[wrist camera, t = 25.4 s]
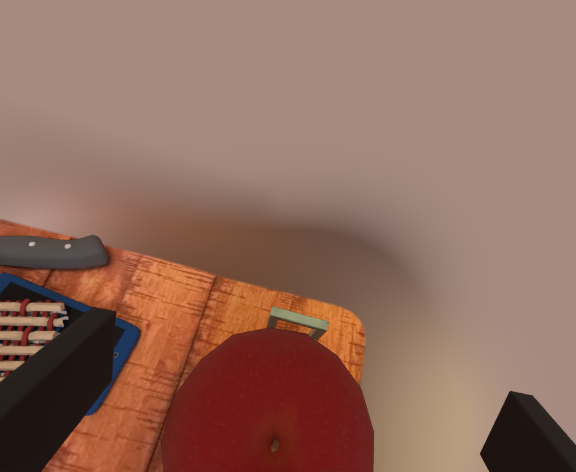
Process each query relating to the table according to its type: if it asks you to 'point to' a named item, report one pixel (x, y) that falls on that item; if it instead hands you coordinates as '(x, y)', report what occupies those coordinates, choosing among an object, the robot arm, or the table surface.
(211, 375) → the apple
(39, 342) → the woven mat
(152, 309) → the table surface
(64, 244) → the kitchen knife
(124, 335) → the cell phone
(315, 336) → the upturned bench
